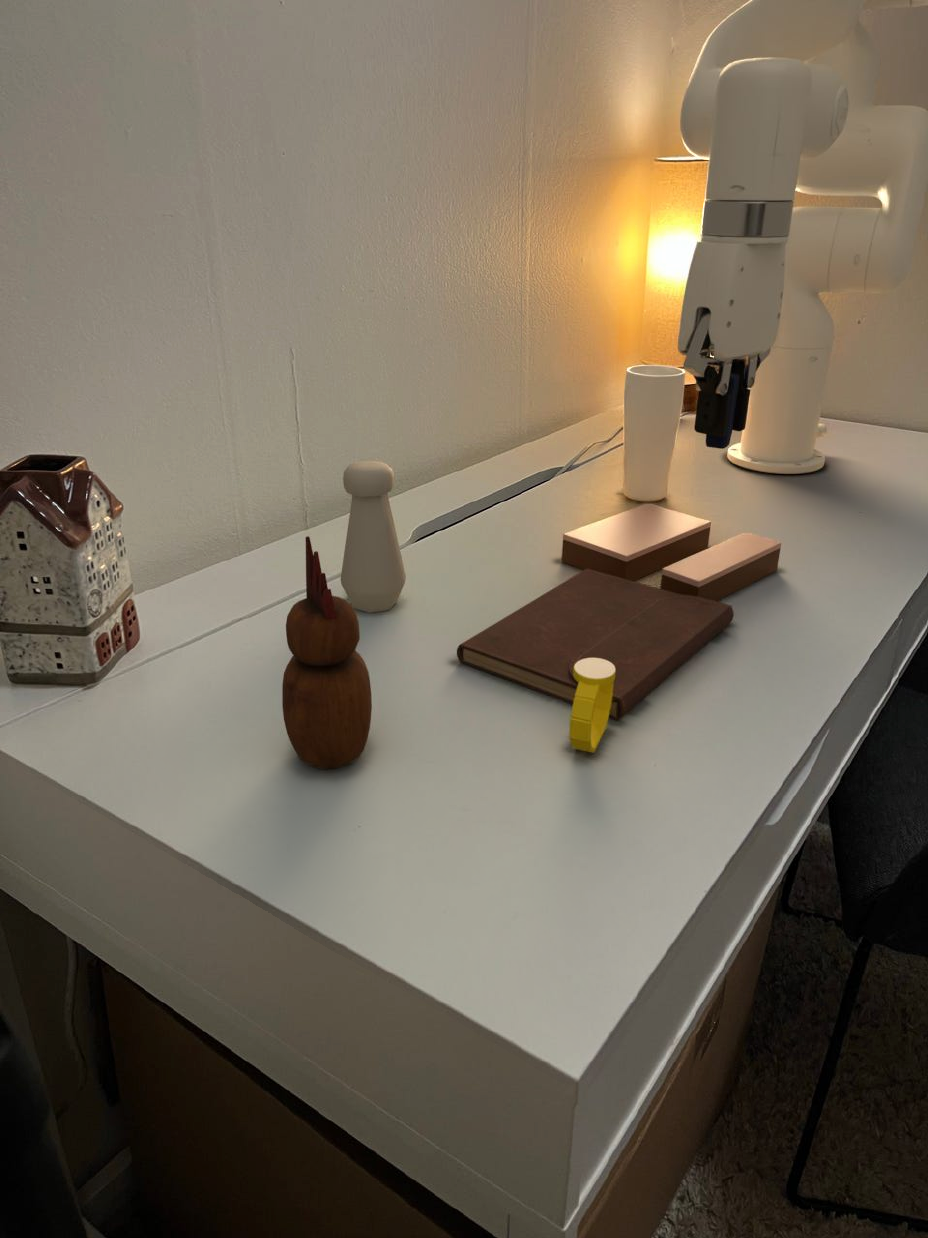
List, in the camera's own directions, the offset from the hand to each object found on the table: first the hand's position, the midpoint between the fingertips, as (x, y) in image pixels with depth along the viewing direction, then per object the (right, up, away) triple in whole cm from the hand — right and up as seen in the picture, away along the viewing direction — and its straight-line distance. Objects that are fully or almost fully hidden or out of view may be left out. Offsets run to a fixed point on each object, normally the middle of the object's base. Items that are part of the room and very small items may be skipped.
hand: (719, 429), depth 89 cm
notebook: (-13, -20, -11) cm, 27 cm away
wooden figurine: (-34, -27, -26) cm, 51 cm away
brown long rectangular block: (0, -15, 0) cm, 15 cm away
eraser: (0, -2, +1) cm, 2 cm away
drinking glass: (-3, -3, +23) cm, 24 cm away
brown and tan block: (-7, -12, +6) cm, 15 cm away
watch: (-16, -27, -25) cm, 40 cm away
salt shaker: (-33, -17, -4) cm, 37 cm away
